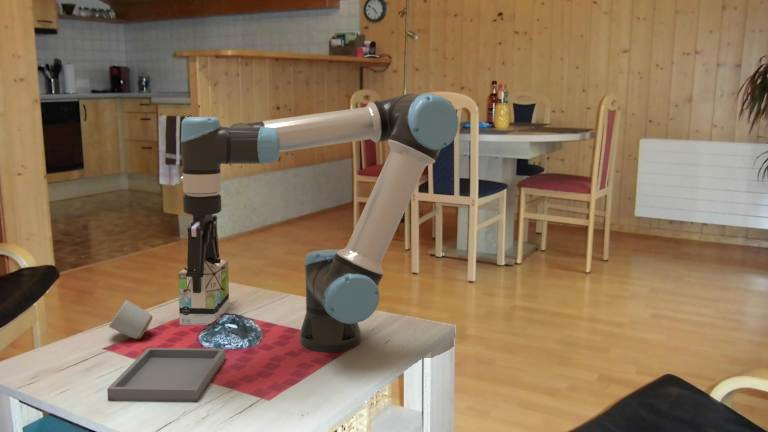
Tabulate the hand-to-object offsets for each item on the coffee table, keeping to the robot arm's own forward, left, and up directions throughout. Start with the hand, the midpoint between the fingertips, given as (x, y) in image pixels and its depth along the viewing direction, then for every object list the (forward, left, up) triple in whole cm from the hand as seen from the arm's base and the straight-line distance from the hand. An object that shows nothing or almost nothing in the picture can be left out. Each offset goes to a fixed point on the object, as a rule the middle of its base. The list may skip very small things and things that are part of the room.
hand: (204, 300), depth 144 cm
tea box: (+12, -41, -18) cm, 46 cm away
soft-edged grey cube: (+26, -26, -18) cm, 41 cm away
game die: (0, 0, -1) cm, 1 cm away
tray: (+8, -1, -18) cm, 20 cm away
